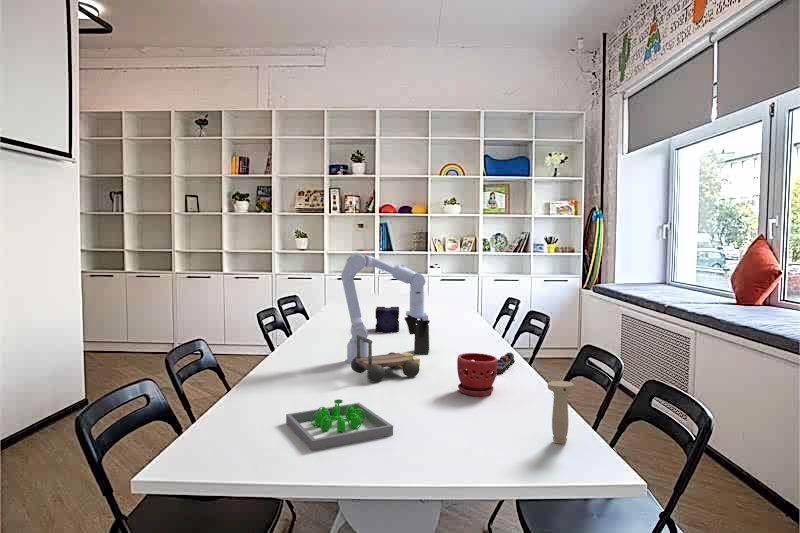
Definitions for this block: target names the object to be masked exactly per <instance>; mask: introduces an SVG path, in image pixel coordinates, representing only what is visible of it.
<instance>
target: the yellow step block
mask: <svg viewBox="0 0 800 533" xmlns="http://www.w3.org/2000/svg"><path fill="white" fill-rule="evenodd" d="M401 354H402V355H405V356H407V357H410V358H412V359H414V361H415V362H417V363H418V365H419V367H420V363H421V361H420V360H421V359H420V358H418V357H415V356H414V354H412V353H410V352H403V353H402V352H401ZM398 367H400V368H403V366H400V365H399V366H398Z"/></svg>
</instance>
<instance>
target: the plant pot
mask: <svg viewBox="0 0 800 533" xmlns="http://www.w3.org/2000/svg"><path fill="white" fill-rule="evenodd" d="M498 360H499V359H498V358H497V357H496V356H493V355H490V354H487V353H479V352H478V353H477V352H467V353H466V352H465V353H461V354H458V355H457V359H456V364H457V367H456V369H457V376H458V379H459V384H457V388H458V390H459V391H460V392H461V393H462V394H465V395H468V396H473V397H480V396H481V397H482V396H488V395H490V394H491V393H493V391H494V388H495V387H494V386H493V384H494V382H495V380H496V378H497V365H498Z"/></svg>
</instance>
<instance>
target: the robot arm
mask: <svg viewBox="0 0 800 533" xmlns="http://www.w3.org/2000/svg"><path fill="white" fill-rule="evenodd" d="M365 267H366V268H372V267H374V268H377V269H379V270H382V271H385V272H386V273H389V274H391V277H392V278H393V279H395V280H397V281H400V282H403V283H405V284H409V310H406V313H405V317H404V318H403V319H404V321H405V323H406V326H407V329H408V333H409V335H415V329H416V325H417V327H418V335H419V338H422V337H424V336H425V332H426V328H427V326H428V325H429V324H430V323H431V322H430V320H429V315H428V314H427V312H425V291H424V289H425V287H424V286H425V285H426V280H425V279H426V278H425V276H424V275H423V274H422V273H419V272H417V271H416V270H415V269H410V268H409V267H408V268H407V267H406V266H405V265H404V264H397V265H395V266H394V265H393V264H391V263H387V262H386V261H383V260H381V259H379V258H376V257H374V256H371V255H368V254H362V253H360V252H354V253H352V254H351V255H350V256H349V257H348V258H347V259H346V262H345V265H344V267H343V269H342V272H341V275H340V276H341V282H342V285H343V291H344V296H345V299H346V303H347V304H346V305H347V309H348V314H349V317H350V323H351V327H350V334H351V338H350V339H349V341H348V343H347V345H346V347H347V348H346V349H347V350H346V354H347V355H346V357H347V358H346V359H345V360H344V361H345V362H347V363H348V364H350V365H351V362H352V360H353V359H354V358H355V357H357V338H356V336H357V335H360V336H362V337H365V338H367V339H368V336H369V331H368V329H367V327H366V325H365V324H364V321H363V318H362V312H361V308H360V304H359V299H358V298H359V297H358V295H357V289H356V283H355V281H354V278H355V276H357V274H358V273H359V271H362V270H363V269H364V268H365ZM360 356H361V357H368V343H367V342H364V341H362V340H360Z"/></svg>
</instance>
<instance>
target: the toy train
mask: <svg viewBox="0 0 800 533" xmlns="http://www.w3.org/2000/svg"><path fill="white" fill-rule="evenodd" d="M497 360H498V365H497V373H498V374H501V375H503V374H504V373H505V372H506V371H507V370H509V368H510V367H511V364H512V365H513V364H514V363H515V355H514V353H512V352H507V353H506V354H504V355H502V356H500V357H499V359H497ZM497 373H496V374H497Z"/></svg>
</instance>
